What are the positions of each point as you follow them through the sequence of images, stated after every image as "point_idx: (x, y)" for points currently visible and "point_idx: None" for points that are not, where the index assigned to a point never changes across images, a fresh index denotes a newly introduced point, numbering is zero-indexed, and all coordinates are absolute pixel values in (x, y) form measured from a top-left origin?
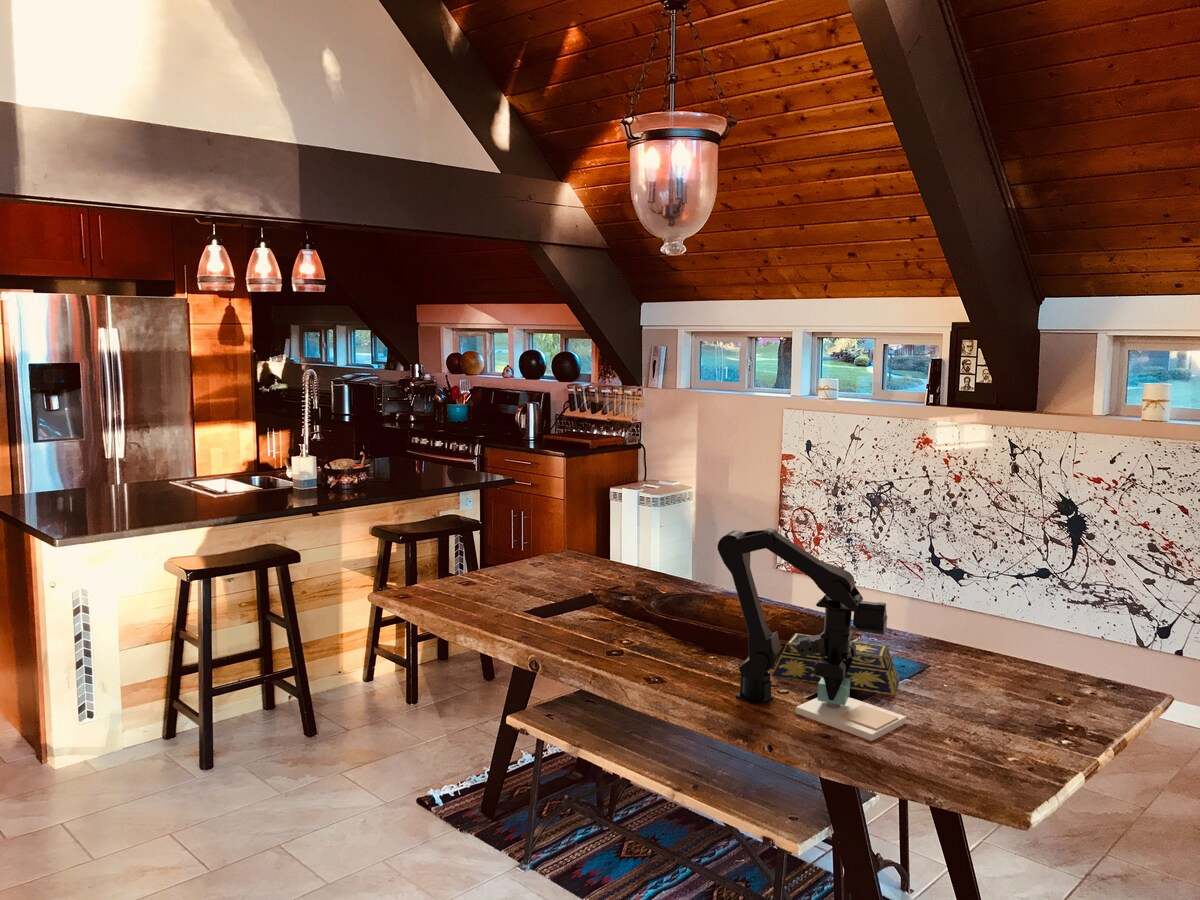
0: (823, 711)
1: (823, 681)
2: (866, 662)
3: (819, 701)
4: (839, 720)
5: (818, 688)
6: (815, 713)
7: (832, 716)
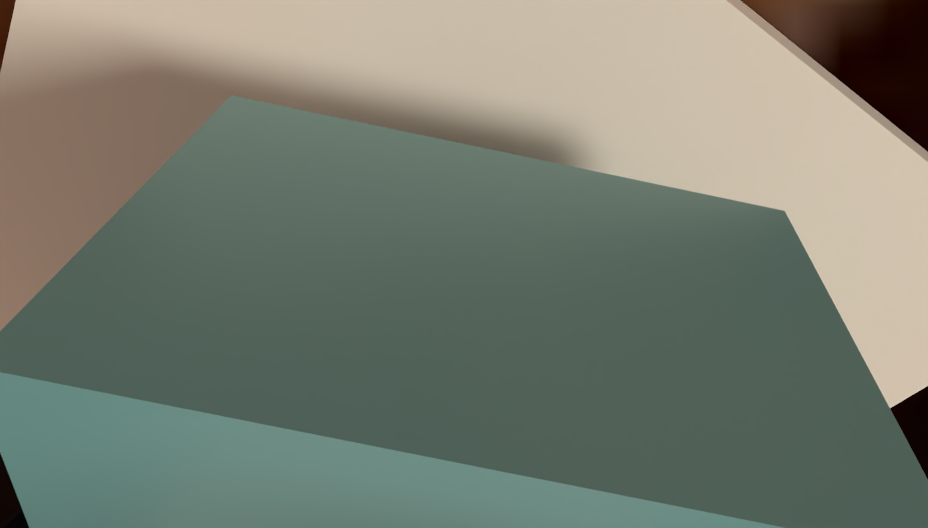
0: (185, 138)
1: (248, 498)
2: None
3: (595, 89)
4: (9, 307)
5: (87, 254)
6: (27, 10)
7: (73, 244)
